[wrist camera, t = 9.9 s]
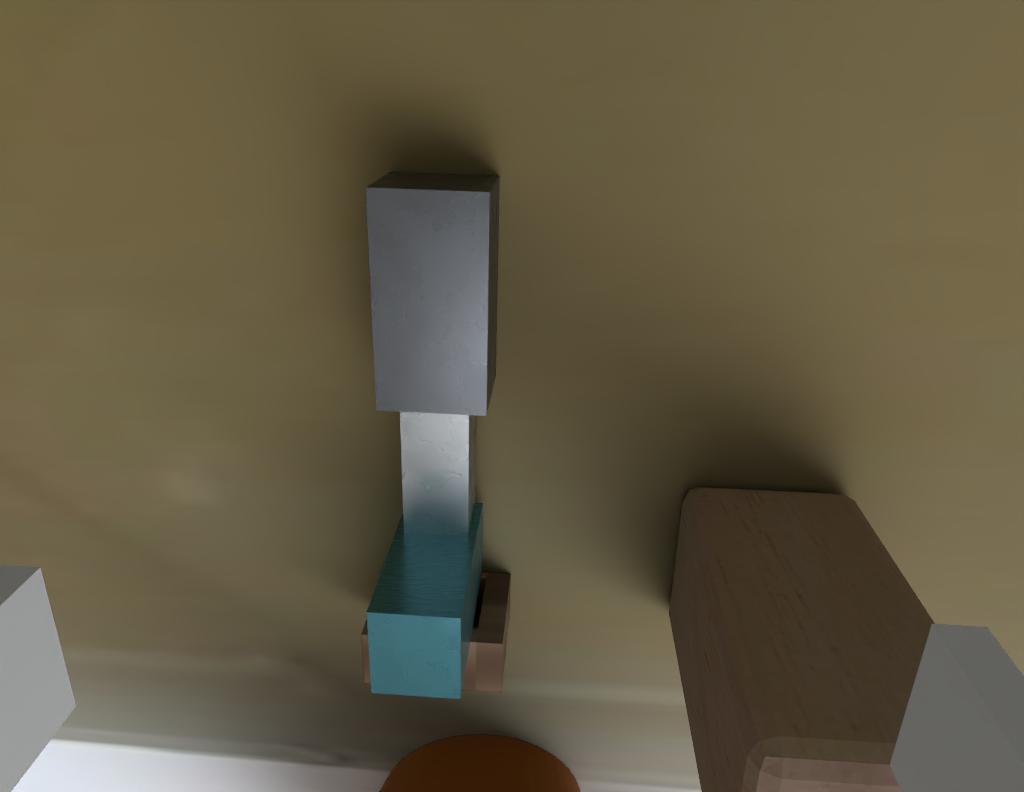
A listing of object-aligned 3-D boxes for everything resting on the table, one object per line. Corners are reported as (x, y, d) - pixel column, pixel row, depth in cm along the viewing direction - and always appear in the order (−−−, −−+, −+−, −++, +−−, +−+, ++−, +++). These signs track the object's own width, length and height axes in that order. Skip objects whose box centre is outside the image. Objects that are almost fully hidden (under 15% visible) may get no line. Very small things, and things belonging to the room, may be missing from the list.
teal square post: (403, 332, 42) (354, 411, 33) (485, 336, 42) (460, 416, 33) (411, 613, 50) (374, 744, 40) (481, 617, 50) (460, 750, 40)
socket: (386, 566, 50) (361, 634, 44) (510, 573, 49) (502, 644, 43) (387, 610, 51) (364, 682, 45) (509, 618, 51) (501, 692, 45)
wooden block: (665, 615, 50) (722, 937, 32) (682, 479, 46) (757, 756, 28) (824, 624, 49) (976, 957, 31) (854, 487, 45) (1049, 775, 27)
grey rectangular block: (391, 171, 40) (365, 187, 35) (499, 175, 40) (489, 192, 35) (397, 370, 44) (376, 410, 39) (495, 375, 44) (486, 416, 39)
